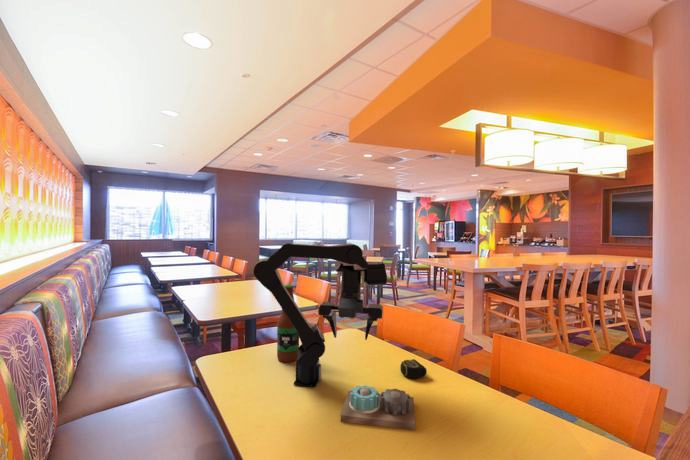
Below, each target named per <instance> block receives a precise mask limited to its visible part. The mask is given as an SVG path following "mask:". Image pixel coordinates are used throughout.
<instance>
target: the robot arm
mask: <svg viewBox="0 0 690 460" xmlns="http://www.w3.org/2000/svg"><path fill="white" fill-rule="evenodd" d="M363 253H364V252H363V250H362V248H361V247H360V246H359V245H356V244H354V243H351V242H350V243H340V244H333V245H322V244H321V245H320V244H305V243H304V244H302V243H291V242H285V243H283V245H282V246H281V247H280V248H278V250H277V251H275V252H273V254H272V255H270V257H268V258H262V259H260V260H259V261H258V262H256V264H255V265H254V267H253V275H254V278H255V279H256V280H257V281H258V282H259V283H260V284H261V285H262V286H263V288H265V289H266V290H268V291H269V292H270V293H271V294H272V296H273V297H274V299H275V300H276V301H277V303H278V304H279V305H278V306H280V308H281V310H282V309H283V311H284V312H285V314H286V315H287V317H288V318H289V320H290V321H291V323H292V324H293V326H294V328H295V329H296V331H297V332H298V334H299V341H300V342H301V345H300V344H299V347H298V358H297V360H295V380H294V382H293V386H301V387H309V388H310V387H311V388H315V387H317V385H318V383H319V382H320V380H321V379H322V364H321V363H320V358H321V357H322V356H324V354H325V353H326V352H325V351H326V345H325V343H326V340H325V335H324V333H323V332H322V331H321V330H320V328H319V326H318V324H317V323H315V324H314V325H312V324H311V323H310V322H309V321H308V320H307V318H306V316H305V315H304V314H303V311H301V308H299V306H298V304H297V303H296V302H295V299H294V300H293V298H292V297H291V295H290V294H289V292H288V291H287V289H286V288H285V284H284V283H283V280H282V277H281V275H280V271H279V270H278V269H279V268H280V267H281V266H282V265H283V264H284V263H285V262H287V260H289V258H292V257H293V258H304V259H305V258H306V259H325V260H331V261H332V260H333V261H336V262H339V264H338V265H337V266H336V267H335V268H334V270H335V271H336V272H339V273H340V272H341V291H340V293H341V294H340V295H341V296H340V298H339V301H338V302H339V303H338V305H336V303H335V301H323V302H322V303H321V304H320V305H319V306H318V309H317V315H319V316H322V318H323V319H326V320H327V321H328V323H329V326H330V329H331V331H332V334H333V338H335V339H336V338H337V337H338V336H337V335H338V331H337V330H338V327H337V326H338V325H337V313H338V317H339V318H341V319H342V318H343V319H344V318H350V319H355V318H356V317H357V314H364V315H366V314H367V319H366V328H365V336H364V340H365V341H367V340H368V337H369V333H370V330H371V327H372V325H373V323H374V322H377V321H378V320H380V319H383V315H384V306H383V305H382V304H379V303H377V304H376V303H369V305H368V306H364V299H362V293H361V292H362V286H361V285H362V283H365V285H366V287H367V286H368V287H373V286H386V285H387V283H388V275H387V270H386V264H385V262H377V263H368V261H367V260H366V259H365V258H364V255H363ZM343 263H344V264H346V265H344V264H343ZM354 265H357V266H358V268H357V267H355V266H354ZM359 267H360V268H359Z"/></svg>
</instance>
